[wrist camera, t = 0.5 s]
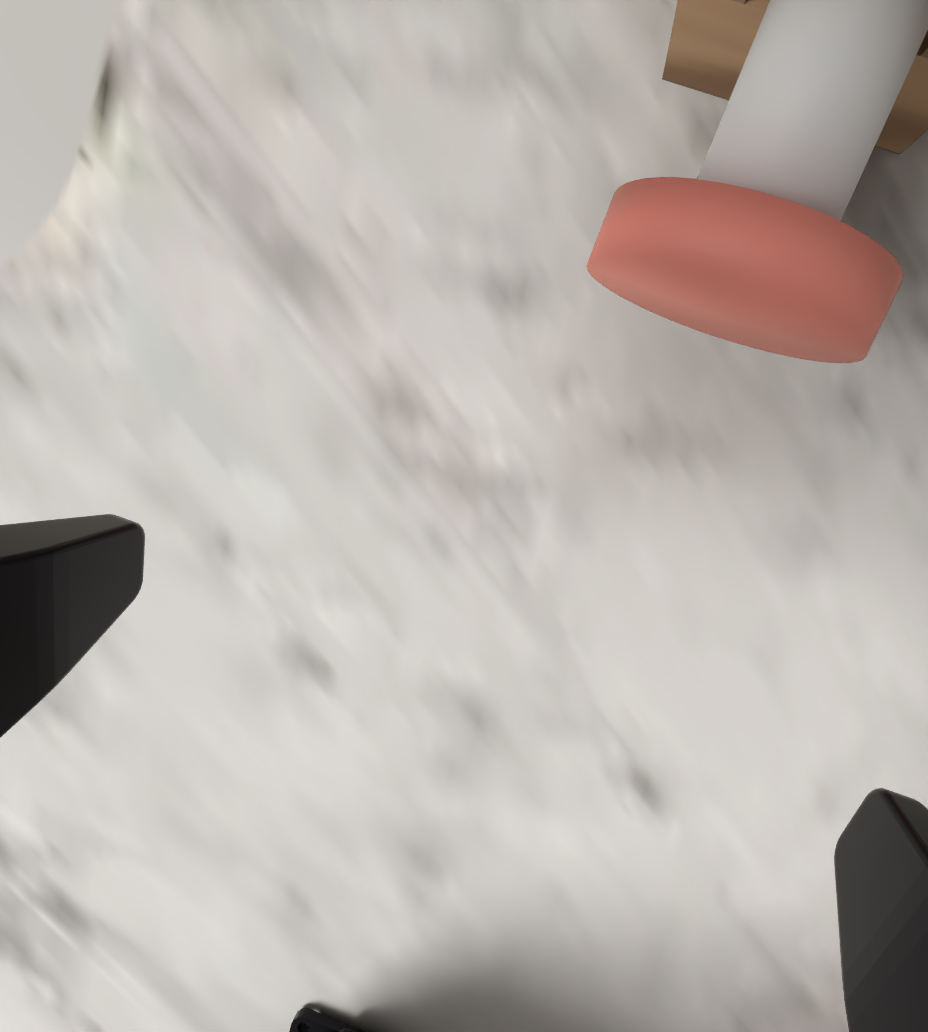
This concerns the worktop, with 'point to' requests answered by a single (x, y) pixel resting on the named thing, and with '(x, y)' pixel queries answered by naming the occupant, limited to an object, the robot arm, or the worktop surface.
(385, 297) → the worktop surface
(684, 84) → the catch block
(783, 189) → the knob
